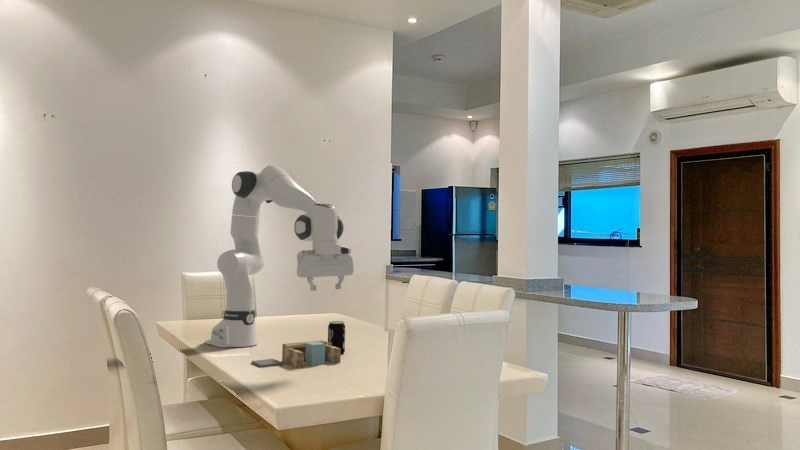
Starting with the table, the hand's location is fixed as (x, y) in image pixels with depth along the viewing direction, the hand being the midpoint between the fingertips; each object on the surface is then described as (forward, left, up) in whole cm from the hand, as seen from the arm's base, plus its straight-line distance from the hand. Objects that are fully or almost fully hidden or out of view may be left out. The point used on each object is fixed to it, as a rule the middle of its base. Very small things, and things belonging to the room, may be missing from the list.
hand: (325, 289), depth 202 cm
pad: (-17, -10, -26) cm, 33 cm away
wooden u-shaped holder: (-7, +2, -26) cm, 27 cm away
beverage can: (-11, +20, -26) cm, 35 cm away
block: (-5, +1, -26) cm, 27 cm away
